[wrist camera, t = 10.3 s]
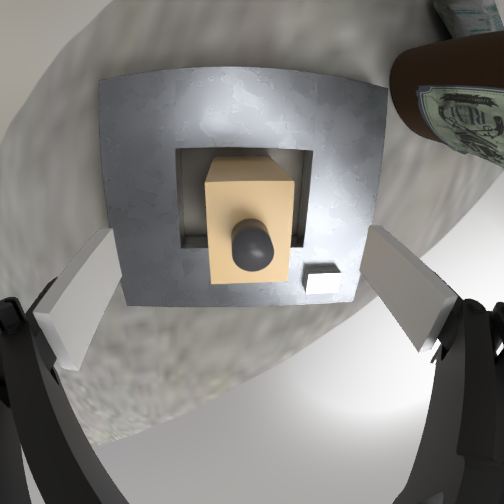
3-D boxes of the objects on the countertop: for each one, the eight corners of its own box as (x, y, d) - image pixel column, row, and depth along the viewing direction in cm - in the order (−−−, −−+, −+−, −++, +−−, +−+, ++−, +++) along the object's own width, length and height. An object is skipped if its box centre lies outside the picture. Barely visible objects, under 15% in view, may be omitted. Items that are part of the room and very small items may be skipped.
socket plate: (133, 290, 26) (124, 312, 23) (111, 83, 17) (93, 79, 14) (344, 287, 28) (356, 307, 25) (373, 89, 19) (394, 88, 16)
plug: (216, 225, 24) (209, 305, 14) (213, 156, 21) (201, 192, 12) (267, 224, 24) (294, 301, 15) (269, 156, 22) (305, 191, 12)
